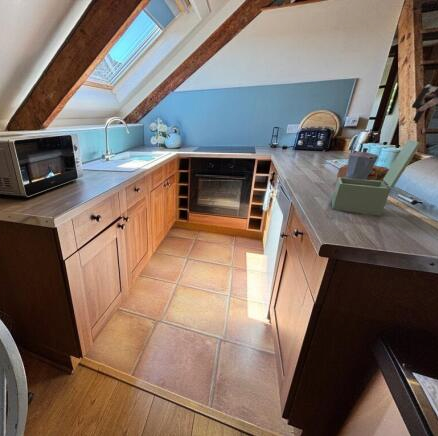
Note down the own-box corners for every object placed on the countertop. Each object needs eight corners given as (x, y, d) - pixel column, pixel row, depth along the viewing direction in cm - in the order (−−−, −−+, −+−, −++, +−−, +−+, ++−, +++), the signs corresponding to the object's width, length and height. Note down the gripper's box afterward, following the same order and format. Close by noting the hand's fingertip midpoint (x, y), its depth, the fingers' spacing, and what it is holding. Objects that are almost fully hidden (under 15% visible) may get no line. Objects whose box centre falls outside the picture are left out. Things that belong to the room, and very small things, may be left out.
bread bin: (332, 209, 91) (340, 183, 87) (331, 200, 100) (338, 177, 96) (380, 216, 84) (391, 188, 80) (374, 206, 93) (383, 181, 89)
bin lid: (418, 142, 73) (421, 143, 73) (407, 139, 82) (410, 140, 82) (390, 186, 80) (393, 187, 80) (382, 179, 89) (385, 180, 89)
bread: (342, 186, 119) (348, 166, 115) (334, 181, 128) (339, 162, 124) (389, 189, 114) (397, 167, 110) (377, 183, 123) (384, 163, 119)
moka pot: (347, 199, 101) (362, 149, 93) (328, 189, 115) (340, 145, 107) (373, 200, 99) (390, 150, 92) (350, 189, 114) (364, 145, 106)
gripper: (524, 61, 58) (474, 125, 70) (442, 58, 67) (410, 115, 79) (514, 72, 56) (464, 136, 67) (431, 67, 65) (399, 125, 76)
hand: (435, 125), depth 73 cm, fingers open, 8 cm apart
